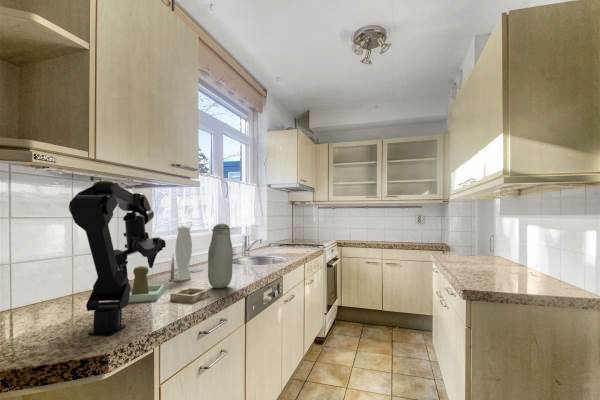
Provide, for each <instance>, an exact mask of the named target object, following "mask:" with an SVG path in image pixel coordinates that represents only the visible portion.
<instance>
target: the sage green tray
mask: <svg viewBox="0 0 600 400" xmlns="http://www.w3.org/2000/svg"><path fill="white" fill-rule="evenodd" d="M130 286H131V289H130V296H129V302H128V304H131V303H146V302H158V301H159V299H160V297H161V296H162V295H163V293H164V292H165V289H166V286H165V284H153V285H149V284H148V290H149V294H139V295H132V289H133V285H130ZM118 301H119V300H118ZM118 301H110V302H118Z"/></svg>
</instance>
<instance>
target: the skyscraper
mask: <svg viewBox="0 0 600 400" xmlns="http://www.w3.org/2000/svg"><path fill="white" fill-rule="evenodd" d="M187 224H190V226H188V225H187ZM192 225H193V222H191V221H190V222H189V221H186V222H183V223H182V224H181V225H179V226H177V231H178V233H177V234H176V242H175V249H174V251H175V256H174V254H173V253H172V258H171V261H172V262H171V263H170V264H171V268H170V269H171V270H170V271H171V272H170V279H169V281H172V282H175V283H181V282H185V281H186V280H187V281H191V280H192V277H191V273H190V269H189V268H190V267H189V266H190V265H191V264H190V263H191V258H192V253H193V250H192V249H193V242H192V235H191V228H192ZM175 261H176V267H177V271H176V273H175Z"/></svg>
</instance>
